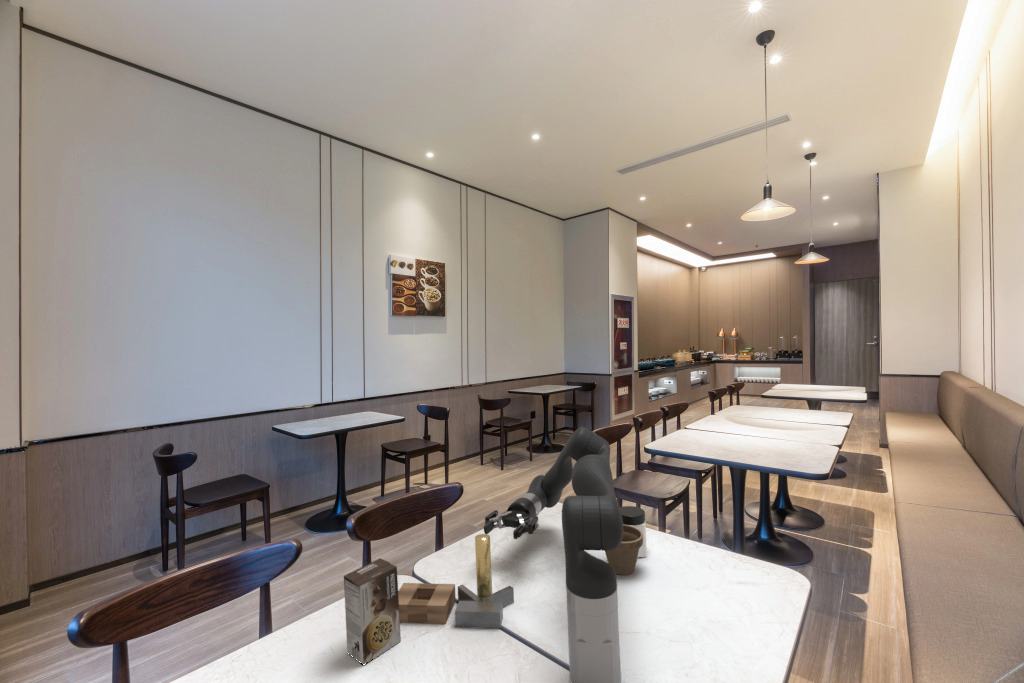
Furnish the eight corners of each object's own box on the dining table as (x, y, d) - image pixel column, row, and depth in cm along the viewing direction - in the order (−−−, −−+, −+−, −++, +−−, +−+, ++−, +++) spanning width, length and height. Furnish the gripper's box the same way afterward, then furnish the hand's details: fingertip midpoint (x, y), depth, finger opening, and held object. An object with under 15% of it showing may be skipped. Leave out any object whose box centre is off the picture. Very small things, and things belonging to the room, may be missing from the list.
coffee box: (383, 630, 98) (380, 557, 98) (401, 641, 94) (398, 565, 94) (345, 653, 91) (342, 574, 91) (363, 667, 87) (359, 584, 87)
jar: (619, 543, 134) (617, 504, 135) (647, 547, 132) (645, 506, 132) (615, 557, 126) (614, 515, 126) (645, 561, 123) (643, 518, 123)
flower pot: (654, 574, 116) (652, 536, 116) (617, 584, 112) (615, 545, 112) (627, 555, 127) (625, 520, 127) (593, 564, 123) (591, 528, 123)
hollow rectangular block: (445, 623, 99) (445, 605, 99) (390, 621, 101) (389, 604, 101) (455, 600, 108) (455, 584, 108) (404, 599, 110) (403, 582, 110)
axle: (491, 608, 104) (488, 540, 104) (476, 608, 104) (473, 540, 105) (493, 600, 108) (491, 534, 108) (479, 599, 108) (476, 533, 108)
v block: (508, 628, 96) (508, 612, 96) (447, 626, 98) (446, 610, 98) (514, 600, 107) (513, 585, 107) (459, 598, 109) (458, 584, 109)
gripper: (502, 494, 133) (475, 515, 119) (547, 500, 127) (524, 522, 112) (503, 519, 133) (476, 542, 119) (548, 526, 127) (525, 552, 112)
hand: (499, 533), depth 116 cm, fingers open, 8 cm apart
